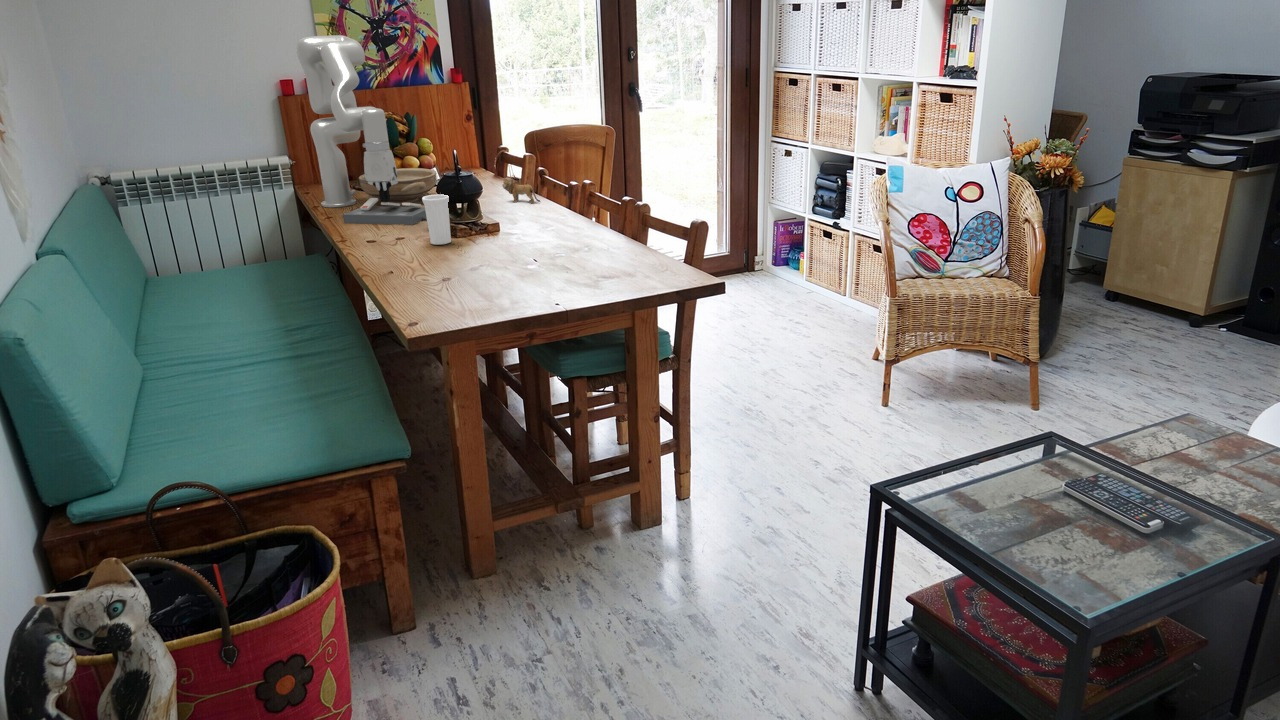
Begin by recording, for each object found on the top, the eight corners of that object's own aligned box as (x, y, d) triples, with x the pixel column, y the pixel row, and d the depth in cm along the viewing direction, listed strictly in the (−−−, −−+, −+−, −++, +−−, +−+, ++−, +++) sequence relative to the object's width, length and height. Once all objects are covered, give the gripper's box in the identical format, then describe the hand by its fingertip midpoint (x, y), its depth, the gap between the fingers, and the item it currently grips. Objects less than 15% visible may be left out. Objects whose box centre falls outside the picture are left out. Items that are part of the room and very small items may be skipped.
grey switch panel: (365, 214, 309) (364, 205, 308) (447, 216, 302) (446, 207, 301) (344, 223, 297) (342, 214, 296) (429, 225, 289) (428, 216, 288)
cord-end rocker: (413, 206, 303) (413, 203, 303) (420, 206, 302) (420, 203, 302) (402, 205, 295) (402, 202, 295) (410, 205, 295) (410, 202, 295)
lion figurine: (501, 203, 321) (499, 178, 317) (508, 200, 325) (505, 176, 322) (537, 204, 316) (536, 179, 313) (543, 201, 321) (542, 177, 318)
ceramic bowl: (346, 199, 336) (342, 173, 332) (415, 189, 352) (412, 164, 349) (384, 214, 309) (380, 185, 305) (457, 202, 325) (454, 175, 321)
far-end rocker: (370, 200, 306) (370, 197, 305) (378, 200, 305) (377, 197, 304) (360, 209, 300) (359, 207, 299) (368, 210, 299) (367, 207, 298)
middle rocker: (392, 205, 305) (392, 203, 305) (400, 206, 304) (400, 203, 304) (380, 204, 297) (380, 201, 297) (388, 204, 297) (388, 202, 296)
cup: (448, 246, 261) (442, 199, 256) (423, 246, 263) (417, 199, 258) (458, 240, 269) (453, 194, 263) (434, 239, 270) (428, 194, 265)
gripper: (351, 148, 289) (360, 203, 295) (392, 148, 285) (399, 204, 292) (363, 145, 295) (371, 199, 302) (403, 145, 292) (410, 199, 299)
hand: (385, 201), depth 297 cm, fingers closed
